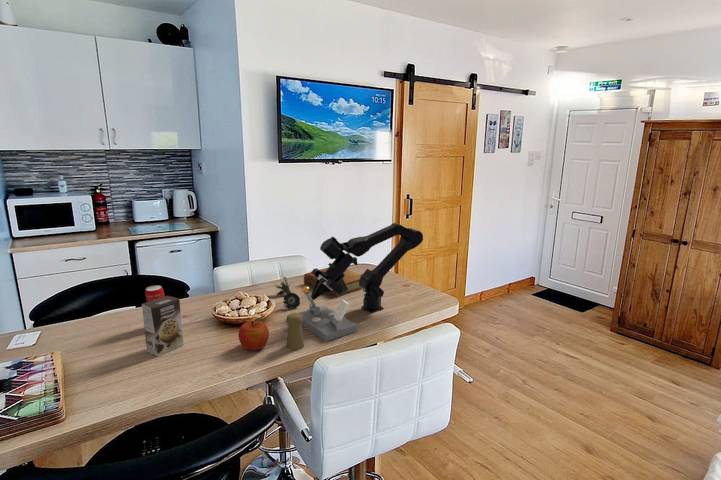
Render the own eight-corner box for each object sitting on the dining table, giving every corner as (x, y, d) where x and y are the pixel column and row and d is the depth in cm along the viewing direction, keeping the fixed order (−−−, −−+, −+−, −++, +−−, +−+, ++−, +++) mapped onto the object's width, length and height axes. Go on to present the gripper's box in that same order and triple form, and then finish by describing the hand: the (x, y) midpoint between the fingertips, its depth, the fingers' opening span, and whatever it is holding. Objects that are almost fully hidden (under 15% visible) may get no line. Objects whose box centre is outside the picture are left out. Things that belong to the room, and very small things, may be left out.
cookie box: (158, 357, 125) (152, 308, 121) (146, 351, 128) (140, 303, 124) (184, 345, 132) (180, 298, 129) (172, 340, 136) (167, 294, 132)
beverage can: (173, 324, 147) (168, 285, 144) (157, 332, 141) (152, 291, 138) (161, 321, 149) (157, 282, 146) (145, 328, 144) (140, 288, 140)
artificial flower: (280, 313, 161) (272, 290, 160) (279, 299, 183) (272, 278, 182) (302, 306, 163) (294, 282, 161) (298, 292, 185) (291, 272, 183)
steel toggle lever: (317, 308, 155) (307, 283, 150) (320, 310, 152) (309, 286, 148) (310, 312, 154) (299, 287, 149) (313, 314, 151) (302, 290, 147)
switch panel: (324, 311, 160) (324, 298, 159) (356, 331, 144) (356, 316, 142) (294, 320, 152) (294, 306, 151) (325, 341, 136) (325, 326, 135)
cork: (300, 351, 129) (300, 319, 127) (282, 349, 131) (281, 317, 128) (307, 342, 135) (306, 311, 133) (289, 340, 136) (288, 309, 134)
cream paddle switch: (334, 323, 144) (345, 300, 144) (339, 328, 140) (350, 304, 140) (329, 321, 143) (340, 298, 143) (334, 326, 139) (345, 302, 139)
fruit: (244, 339, 137) (242, 312, 134) (272, 340, 136) (271, 312, 134) (234, 354, 127) (232, 324, 125) (265, 355, 127) (263, 325, 125)
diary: (304, 285, 191) (303, 273, 190) (333, 276, 204) (333, 265, 203) (336, 298, 175) (336, 285, 174) (367, 288, 188) (367, 276, 187)
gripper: (363, 286, 149) (336, 319, 147) (342, 272, 165) (317, 302, 163) (344, 268, 144) (315, 303, 141) (324, 255, 160) (297, 286, 158)
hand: (311, 298), depth 151 cm, fingers closed, pressing on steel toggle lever
